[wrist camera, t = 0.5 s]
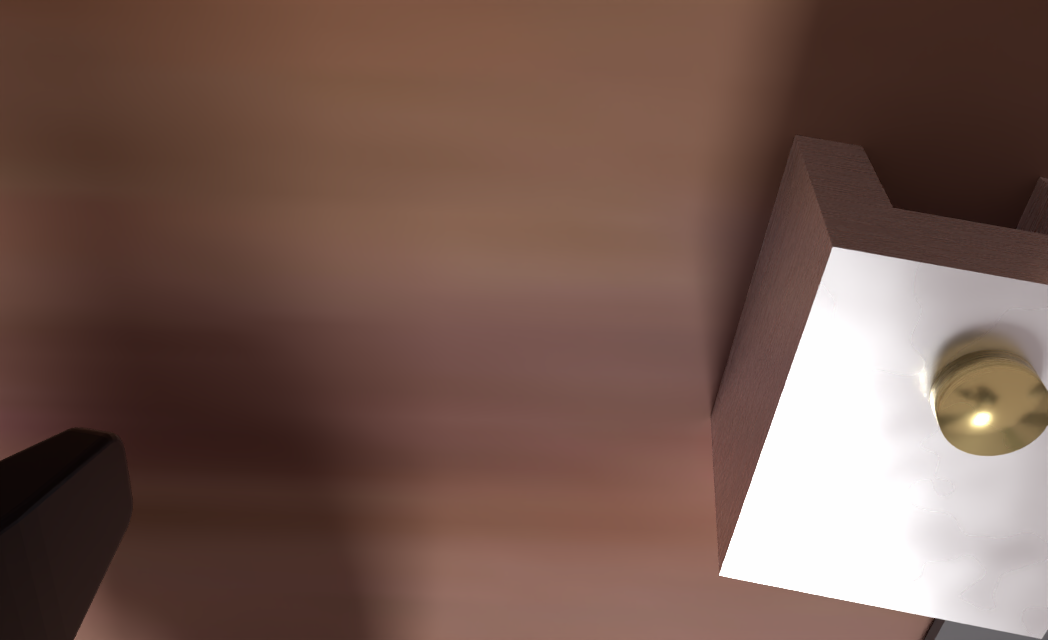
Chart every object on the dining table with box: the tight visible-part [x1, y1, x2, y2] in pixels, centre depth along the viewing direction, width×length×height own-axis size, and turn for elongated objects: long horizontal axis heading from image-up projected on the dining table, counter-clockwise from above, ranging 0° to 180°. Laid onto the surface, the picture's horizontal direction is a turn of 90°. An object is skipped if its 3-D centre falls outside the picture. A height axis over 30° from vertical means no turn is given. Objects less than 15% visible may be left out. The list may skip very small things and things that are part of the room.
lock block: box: [711, 135, 1048, 639], centre depth 17 cm, size 7×6×6 cm
